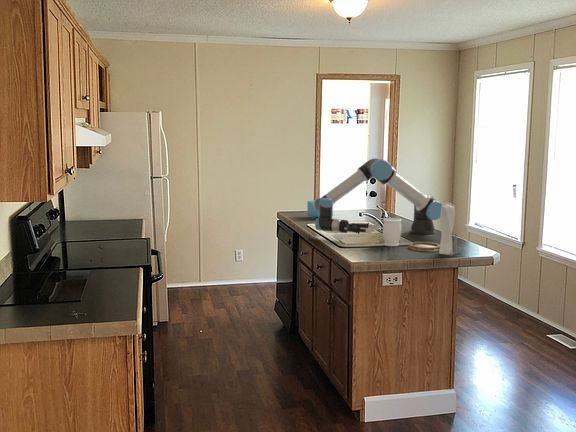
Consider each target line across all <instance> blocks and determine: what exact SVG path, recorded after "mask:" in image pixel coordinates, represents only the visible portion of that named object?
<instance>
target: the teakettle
mask: <svg viewBox="0 0 576 432" xmlns="http://www.w3.org/2000/svg"><path fill="white" fill-rule="evenodd" d="M315 200H316V199H313V200H307V208H306V209H307V210H306V211H307V213H306V214H307V217H310V219H311V220H316V219H317V217H318V218H319V216H320V211H318V210H317V209H316V208H315V206H314V202H315ZM336 203H337V201H336V202H335V203H334V204H336ZM333 213H334V205H333V206H332V217H333V216H334V214H333Z"/></svg>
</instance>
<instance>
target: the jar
mask: <svg viewBox="0 0 576 432" xmlns="http://www.w3.org/2000/svg"><path fill="white" fill-rule="evenodd" d="M382 221H383V225H382V237H383V240H384V243H383V245H384V246H387V247H398V246H400V243H399V241H400V240H401V236H402V223H401V222H402V221H403V220H402V219H401V218H398V217H385V218H383V220H382Z"/></svg>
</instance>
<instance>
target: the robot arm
mask: <svg viewBox="0 0 576 432" xmlns="http://www.w3.org/2000/svg"><path fill="white" fill-rule="evenodd" d="M396 171H397V170H396V168H395V167H394V166H392V165H391V164H390V162H388V161H387V160H386V159H380V158H371V159H369V160H367V161H366V162H365V163H363V164H362V165H361V166H359V167H358V168H357V170H356V171H355V172H354V173H353V174H351V175H350V176H349V177H347V178H346V179H345V180H343V181H341V182H340V183H339V184H337V186H335V187H334V188H332V189H331V190H329V191H328V192H327V193H325V194H324V195H323V196H321V197H319V198H316V199H314V200H315V202H314V206H315V208H316V209H317V210H318V211H320V216H319V218H317V217H316V218H315V222H314V227H315V229H316V230H317V231H323V232H331V233H332V232H334V234H335V233H336V234H337V233H341V234H342V233H343V234H346V233H348V232H350V233H355V234H359V235H360V234H362V233H364V234H373V233H372V232H373V231H372V230H377V231H379V230H380V225H379V224H370V222H367V223H362V222H361V223H359V222H358V223H355V222H353V223H352V222H351V223H349V220H347V219H339V218H338V219H337V218H333V216H332V206H333V207H334V204H336V203H337V202H339V201H340V200H341V199H342V198H343V197H344V196H346V195H348V194H349V193H350V192H352V191H353V190H354V189H356V188H357V187H358V186H360V185H361V184H362V183H364V182H368V181H370V180H371V179H375V180H376V181H377V182H379V183H380V184H382V185H383V186H384V185H387V186H388V187H390V188H392V189H393V190H394V191H395V192H397V193H398V194H399V195H400V196H402V197H403V198H405V199H406V200H407V201H408V202H409V203H411V204H412V205H414V206H413V221H412V224H411V226H410V229H409V230H410V231H409V232H410V233H412V234H419V235H432V234H435V233H436V228H435V226H434V225H435V224H434V221H438V220H441V207H442V205H443V204H444V203H442V202H441V201H438V200H437V199H435V198H434V197H433V196H431V195H430V194H424V193H423V192H421V190H419V189H417V188H416V187H415V186H414V185H413V184H412V183H410V182H408V180H406V179H405V178H403V176H400V174H398V173H397V172H396ZM335 202H336V203H335ZM443 206H444V205H443Z"/></svg>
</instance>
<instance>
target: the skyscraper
mask: <svg viewBox="0 0 576 432" xmlns="http://www.w3.org/2000/svg"><path fill="white" fill-rule="evenodd" d="M442 204H443V205H442V207H441V218H440V219H439V220H440V232H441V236H440V243H439V245H440V250H439V251H438V254H439V255H445V256H454V255H456V254H458V253H457V248H458V247H457V245H458V244H457V242H458V238H457V233H455V234H454V238H452V237H453V234H452V233H453V229H454V227H455V225H454V224H455V219H456V218H455V217H456V216H455V215H456V209H455V207H456V206H455V205H454V204H453V203H451V202H444V203H442ZM453 240H454V241H453Z"/></svg>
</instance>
